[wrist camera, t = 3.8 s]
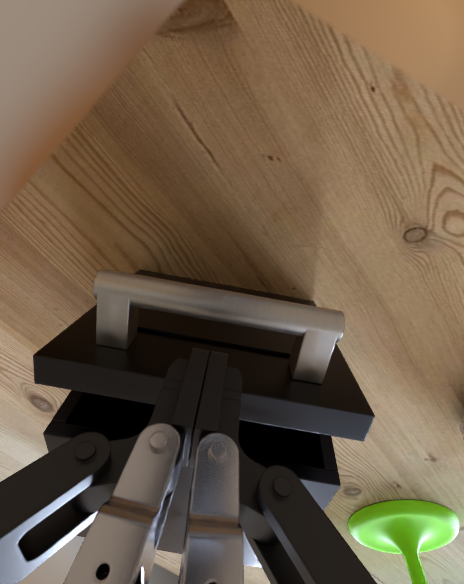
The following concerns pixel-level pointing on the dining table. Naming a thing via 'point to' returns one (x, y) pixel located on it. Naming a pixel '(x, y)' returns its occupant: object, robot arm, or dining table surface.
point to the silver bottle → (462, 427)
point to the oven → (252, 438)
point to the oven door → (211, 349)
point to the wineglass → (405, 530)
